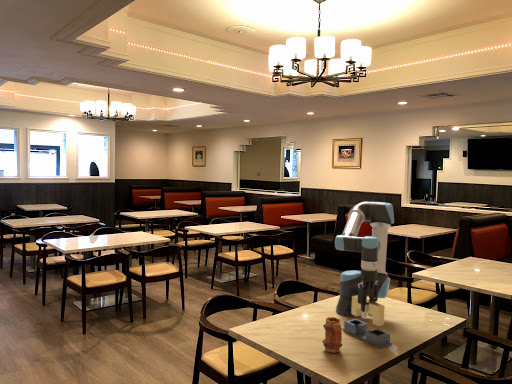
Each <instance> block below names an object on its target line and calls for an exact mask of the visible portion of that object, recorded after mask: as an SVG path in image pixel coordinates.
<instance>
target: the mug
mask: <svg viewBox="0 0 512 384" xmlns="http://www.w3.org/2000/svg"><path fill="white" fill-rule="evenodd" d="M323 330H325V331H324V332H325V333H324V334H325V335H324V339H323V340H321V341H322V345H323V346H324V350H325V351H326V352H328V353H339V352H340V349H341V348H342V347H343V343H342V341H343V340H342V338H343V335H342V331H343V328H342V325H341V321H340V319H339V318H337V317H336V316H335V317H334V316H331V317H329V316H328V317H326V318H325V324H323Z"/></svg>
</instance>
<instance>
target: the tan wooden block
mask: <svg viewBox="0 0 512 384" xmlns="http://www.w3.org/2000/svg"><path fill="white" fill-rule="evenodd" d="M366 305H367V314H368V313H369V314H371V315H373V317H372V324H373V325H376V326H377V327H380V326H384V325H385V305H383V304H380V303H378V302H373V301H371V300H369V298H367V300H366ZM351 314H352V315H354V316H353V317H361V304H359V303H358V296H352V310H351Z"/></svg>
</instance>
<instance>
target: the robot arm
mask: <svg viewBox="0 0 512 384" xmlns="http://www.w3.org/2000/svg"><path fill="white" fill-rule="evenodd" d="M394 216H395V215H394V206H393V204H392V203H389V202H381V201H380V202H379V201H362V202H360V203H357V204H355V205H354V206H352V207H351V208H350V210H349V212H348V213H347V221H346V224H345V226H344V229H343V231H342V234H340V235H338V234H337V235H336V236H335V238H334V247H335V249H336V250H338V251H341V252H342V251H343V252H344V251H346V252H357V253H361V259H360V260H361V261H360V262H361V263H360V267H361V269H360V270H354V269H353V270H345V271H343V272H341V274H340V277H339V278H340V279H339V298H338V301H337V304H336V306H335V311H336V313H337V314H339V315H341V316H345V317H355V316H354V315H352V314H351V310H352V296H358V303H359V304H361V316H360V318H363V319H365V320H367V317H370V318H373V315H371V314H369V313H367V305H366V300H367V299H368V300H371V301H373V302H376V303H378V299H386V298H387V296H388V293H389V289H390V283H391V278H390V277H389V275H388V273H387V271H386V263H387V249H388V235H389V234H388V233H389V229H390V228H391V227H392V224H394V223H395V217H394ZM363 222H368V223H369V225H370V227H372V230H371V236H370V235H366V236H358V234H359V231H360V228H361V225H362V224H363Z"/></svg>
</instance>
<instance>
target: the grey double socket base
mask: <svg viewBox="0 0 512 384" xmlns="http://www.w3.org/2000/svg"><path fill="white" fill-rule="evenodd" d="M343 326H344V327H343V328H342V331H343V332H345V333H348V334H350V335H351V336H353V337H356V338H357V339H359V340H361V341H363V342H366V343H367V344H369V345H371V346H372V347H375V348H377V349H379V350H381V349H383V348H387V347H391V346H392V342H391V333H390V332H387V331H385V330H383V329H380V328H378V327H376V328H372V329H369V328H368V327H369V324H368V323H367V322H365V321H363V320H361V319H359V318H352V319H348V320H344V325H343ZM368 329H369V330H368Z"/></svg>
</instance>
